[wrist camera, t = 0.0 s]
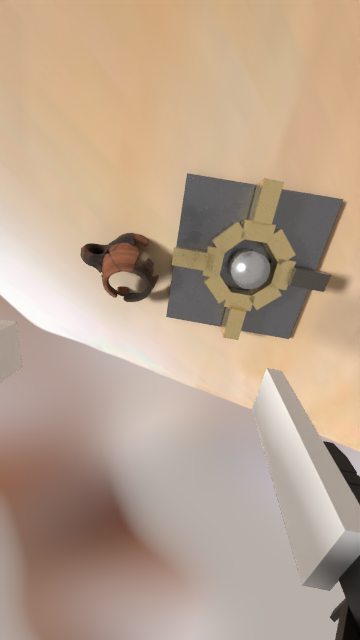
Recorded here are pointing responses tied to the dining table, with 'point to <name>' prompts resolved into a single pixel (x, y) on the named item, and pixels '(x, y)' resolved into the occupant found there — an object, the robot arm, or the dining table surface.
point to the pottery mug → (121, 263)
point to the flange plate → (222, 214)
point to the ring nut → (275, 246)
